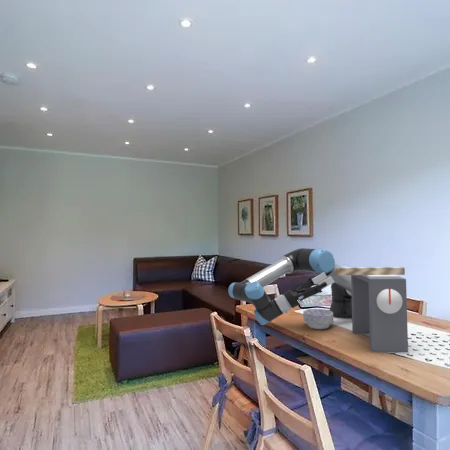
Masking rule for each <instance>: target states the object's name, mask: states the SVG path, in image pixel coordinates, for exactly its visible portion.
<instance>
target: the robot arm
mask: <svg viewBox="0 0 450 450" xmlns="http://www.w3.org/2000/svg"><path fill="white" fill-rule="evenodd" d="M336 268H342V266H340V265H339V264H338V263H336V261H335V257H334V254H333V253H332V252H331V251H330V250H327V249H324V248H302V247H301V248H297V249H294V250H292V251H289V252H288V253H286V254H284V255H282V256H280V257H279V260H277V261H276V262H273V263H272V264H270V265H268V266H267V267H265V268H263V269H261V270H260V271H258V272H256V273H255V274H252V275H251V276H249V277H247V278H246V279H244V280H242V281H241V282H238V281H237V282H232V283H231V284H230V285H228V290H227V292H228V295H229V296H230V298H232V299H233V300H234V299H235V300H238V301H242V302H246V303H249V304H252V305H253V307H254V308H255V309H254V311H253V314H254V317H255V318H256V320H257V322H258V323H259V324H260V325H261V326H264V325H266V324H268V323H271V322H272V321H273V320H275V319H277V318H278V317H280V316H282V315H284V314H287V313H288V312H289V311H291V309H294V308H296V307H297V306H298V307H299V305H300V302H302V301H303V300H305V299H308V298H310V297H313V296H315V295H317V294H320V293H322V292H323V290H324V289H326V288H327V287H329V286H330V289H331V290H332V291H331V290H330V291H331V304H330V306H329V309H328V310H329V311H332V312H333V318H338V319H352V293H351V275H336ZM298 271H300V272H301V271H302V272H307V273H308V272H309V273H310V272H311V273H313V274H314V275H317V276H315V277H313V278H311V277H310V278H308V279H307V280H306V281H305V282H304V283H303V284H301V285H300V286H298V287H296V289H294V290H293V291H292V290H291V289H288V290H287V291H285V292H283V294H280V295H278V296H276V297H275V298H273V299H272V300H271V298H270V297H269V295H268V294H267V292H266V291H265V289H264V287H266V286H268V285H270V284H271V283H273V282H275V281H276V280H278V279H279V278H281V277H283V276H285V275H286V274H292V273H294V272H298ZM298 300H299V301H298Z"/></svg>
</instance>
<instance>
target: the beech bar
mask: <svg viewBox="0 0 450 450" xmlns="http://www.w3.org/2000/svg"><path fill="white" fill-rule="evenodd" d="M341 267H342V266H341ZM405 272H406V268H405V267H403V266H373V267H371V266H369V267H368V266H366V267H365V266H364V267H361V266H359V267H357V266H355V267H352V266H351V267H347V266H346V267H344V266H343V267H342V268H336V275H397V276H401V275H402V276H403V275H404V276H405V274H406V273H405Z"/></svg>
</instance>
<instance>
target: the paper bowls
mask: <svg viewBox="0 0 450 450" xmlns="http://www.w3.org/2000/svg"><path fill="white" fill-rule="evenodd" d="M329 310H330V309H325V308H308V309H305V310H303V312H302V313H303V314H302V316H303V322H304V323H306V324H307V326H308V327H309V328H310V329H313V328H314V330H326V329H328V328H329V327H330V325H332V324H333V323H334V317H333V312H332V311H329Z"/></svg>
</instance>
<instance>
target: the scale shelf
mask: <svg viewBox="0 0 450 450" xmlns="http://www.w3.org/2000/svg"><path fill="white" fill-rule="evenodd" d="M351 293H352V318H351V320H352V321H351V323H352V325H351V326H352V327H351V330H352V333H353V335H354V334H355V335H360V334H361V335H362V334H363V335H365V334H366V335H369V349H370V351H371V352H372V353H397V352H408V353H409V339H408V338H409V335H408V303H407V302H408V300H407V295H408V294H407V279H406V278H405V277H402V276H401V275H351Z"/></svg>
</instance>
